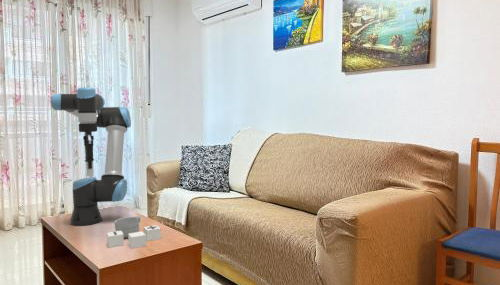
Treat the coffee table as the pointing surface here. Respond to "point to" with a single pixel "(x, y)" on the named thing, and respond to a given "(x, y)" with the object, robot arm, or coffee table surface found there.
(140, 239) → the plain block
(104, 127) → the robot arm
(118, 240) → the marked block bar
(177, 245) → the coffee table surface
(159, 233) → the marked block cross
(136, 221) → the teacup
